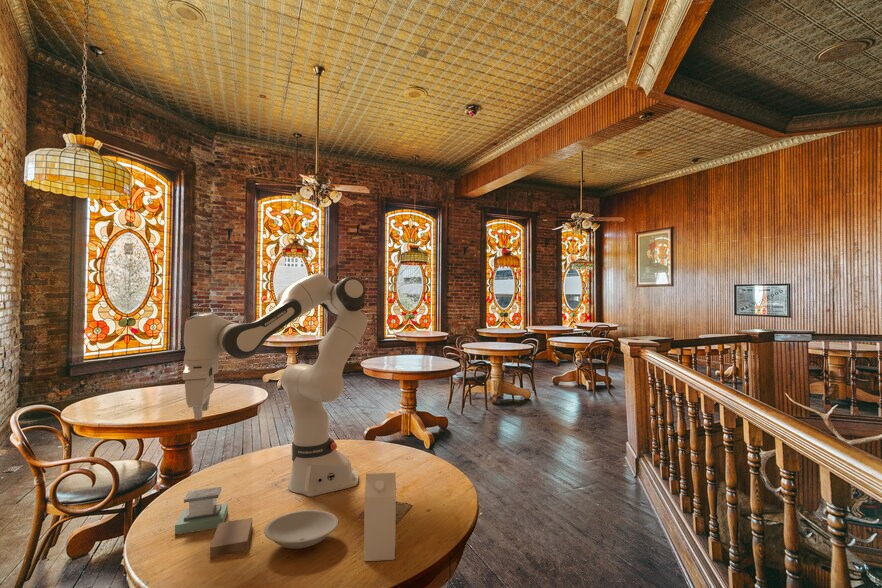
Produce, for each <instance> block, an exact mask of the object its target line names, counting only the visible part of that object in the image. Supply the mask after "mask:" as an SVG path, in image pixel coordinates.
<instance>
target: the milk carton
mask: <svg viewBox="0 0 882 588" xmlns="http://www.w3.org/2000/svg"><path fill="white" fill-rule="evenodd" d="M396 484H397V480H396V472H378V473H377V472H375V473H374V472H372V473H371V472H370V473H365V486H364V501H363V502H364V504H363V505H364V507H363V508H364V509H363V511H364V519H363V521H364V522H363V524H364V527H363V532H364V533H363V561H364V562H371V561H372V562H373V561H393V560H396V559H395V558H396V556H395V555H396V535H397V534H396V532H397V531H396V529H397V528H396V527H397V524H396V501H397V498H396V493H397V492H396V491H397V489H396V487H397V485H396Z"/></svg>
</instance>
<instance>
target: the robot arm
mask: <svg viewBox="0 0 882 588" xmlns="http://www.w3.org/2000/svg"><path fill="white" fill-rule="evenodd" d="M366 289H367V288H366V285H365V284H364V282H363V281H362V280H361V279H360V278H358V277H355V276H348V277H344V278H343V279H341V280H339V281H338V282H337V283H334V282H332V281H331V280H330V279H329V277H328V276H326V274H324V273H318V272H317V273H313V274H309V275H308V276H305V277H303V278H301V279H299V280H296V281H295V282H292V283H291V284H289V285H288V286H286V287H285V288H284V289H283V290H281V292H280V293H278V296H277V300H276V301H277V305H276V306H275V307H274V308H272V310H270V311H268V312H267V313H266V314H264V315H263V316H261V317H259V318H257V319H256V320H255V321H252V322H248V323H240V322H235V321H231V320H228V319H226V318H223V317H221V316H219V315H217V314H216V313H215V312H202V313H197V314H194V315H191V316H190V317H188V318H187V319H186V321H185V324H184V329H183V346H184V349H185V353H184V357H183V371H182V380H183V381H185V382H184V391H185V392H184V393H185V399H186V400H185V401H186V402H185V403H186V406H187V408H192V410H193V414H194V417H193V418H194V421H200V420H202V418H203V414H204V413H203V412H206V411H209V404H210V398H211V395H212V393H213V392H214V390H215V376H214V375H215V374H218V373H219V369H220V368H219V354H223V353H226V354H228V355H230V357H232V358H234V359H242V360H245V359H248V358H251V357H252V356H254V355H255V354H257V353H258V351H259V350H260V349H261V348H262V347H263V344H264V343H265V342H266V341H267V340H268V339H269V338H270V337H272V336H273V335H274V334H276V333H277V332H279V331H280V330H282V329H284V327H286V326H287V325H289V324H290V323H291V322H293V321H294V320H296V319H298V318H299V317H302V316H303V315H305V314H307V313H309V312H310V311H312V310H313V309H315V308H316V307H318V306H319V305H320V306H321V307H322V308H324V309H325V310H326V312H327V313H328V314H330V315H331V316H334V317H337V319H336V320H335V322H334V323H333V325H332V326H331V327H330V329H329V330H328V331H327V333H326V334H325V335H324V337H323V338H322V339H321V340H320V342H319V343H318V346H317V347H318V352H319V353H318V357H317V359H316V361H315V363H313V364H308V363H296V364H291V365H288V366H287V367H286V368H285V369H284V370H283V372H282V374H281V377H280V384H281V386H282V388H283V390H284V392H286V395H287V398H288V402H289V405H290V406H289V407H290V410H291V414H292V421H293V422H292V423H293V426H292V427H293V430H292V431H293V441H292V444H291V460H292V464H291V472H290V475H289V476H290V477H289V480H288V484H287V489H288V490H289V491H291V492H292V493H293V492H294V493H297V494H301V495H305V496H307V497H314V496H315V497H316V496H319V495H323V494H327V493H332V492H336V491H340V490H344V489H349V488H352V487H355V486H357V485H358V483H359V474H358V472H357V470H356V469H355V468H353V467H352V464H351V461H350V459H349V457H348V456H347V455H345V454H344V453H343V452H341V451H339V450H338V449H337V448H338V445H337V443H336V442H335V440H334V438H333V437H329V424H330V423H329V418H330V417H329V415H328V412H327V411H326V409H325V408H324V406H323V403H327V402H333V401H336V400H337V399H339V397H341V395H342V393H343V390H344V386H345V383H344V381H345V380H344V378H343V372H344V368H345V365H346V364H347V363H346V362H347V361H348V359H349V358H350V356H351V354H352V353H353V352H354V350H355V349H356V347H357V345H358V344H359V342H360V340H361V339H362V337H363V335H364V334H365V331H366V328H367V327H368V323H369V322H368V317H367V316H366V315H365V314H364V313H363V312H362V311H361V310H362V309H363V308H364V307H365V298H366V294H367V293H366V292H367V291H366Z"/></svg>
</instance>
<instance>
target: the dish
mask: <svg viewBox="0 0 882 588" xmlns="http://www.w3.org/2000/svg"><path fill="white" fill-rule="evenodd" d="M338 525H339V519H338V517H337V516H336V515H335V514H333V513H331V512H329V511H326V510H321V509H319V510H317V509H306V510H304V509H303V510H297V511H293V512H288V513H285V514H283V515H279V516H277V517H275V518H273V519H272V520H270V521H269V522H268V523H267V524H266V525H265V527H264V528H263V529H264V531H263V534H264V536H265V537H266V538H267V539H269V540H270V541H272V542H274V543H275V544H277V545H278V546H281V547H283V548H287V549H292V550H293V549H304V548H309V547H312V546H315V545H317V544H319V543H320V542H322V541H323V540H324V539H326V538H327V536H329V535H330V534H331V533H333V532H334V531H335V529H336V528H337V527H338Z"/></svg>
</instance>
